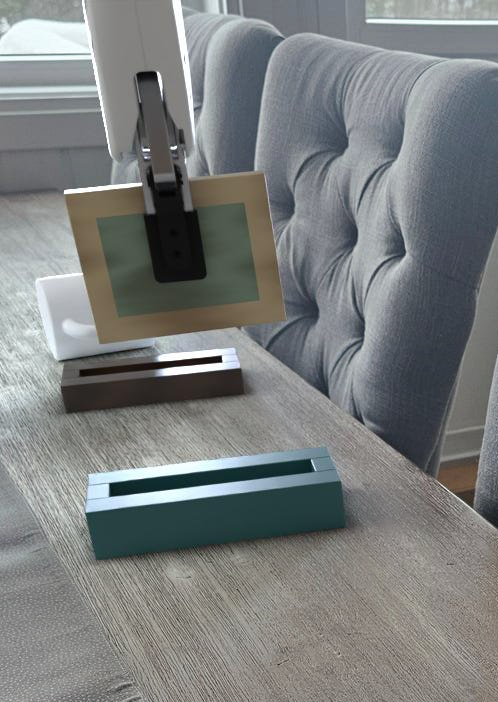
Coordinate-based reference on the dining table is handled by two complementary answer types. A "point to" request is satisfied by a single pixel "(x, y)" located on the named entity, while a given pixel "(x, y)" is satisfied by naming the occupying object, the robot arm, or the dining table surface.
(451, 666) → the dining table surface
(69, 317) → the white bread box
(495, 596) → the dining table surface
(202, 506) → the holder
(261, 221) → the frame
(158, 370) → the rack
